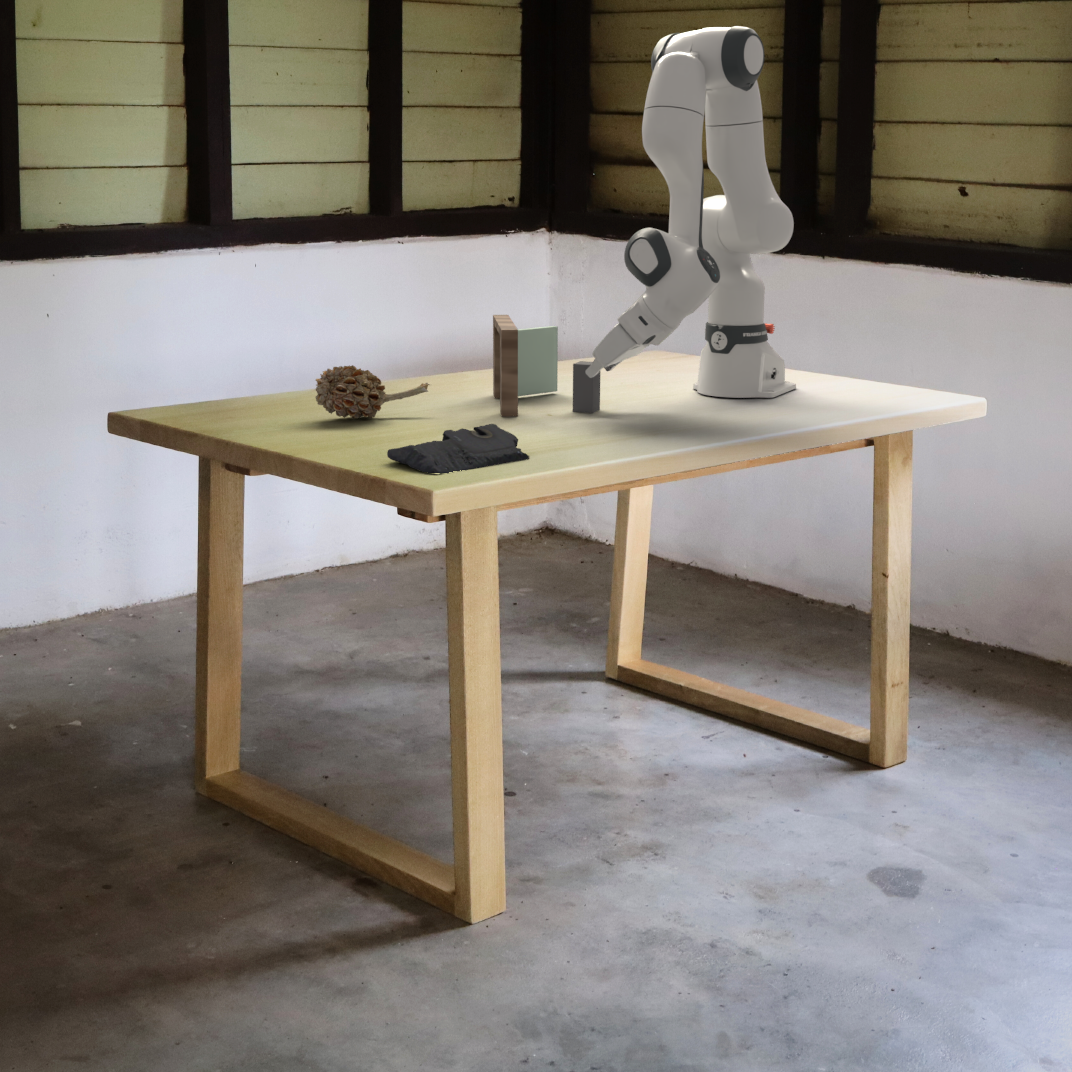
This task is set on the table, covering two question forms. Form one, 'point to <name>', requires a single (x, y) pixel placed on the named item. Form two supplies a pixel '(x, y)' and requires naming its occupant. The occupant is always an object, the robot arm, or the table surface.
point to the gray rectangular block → (585, 389)
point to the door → (537, 360)
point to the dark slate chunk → (461, 450)
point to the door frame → (505, 364)
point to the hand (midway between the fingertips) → (597, 371)
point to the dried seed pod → (356, 392)
